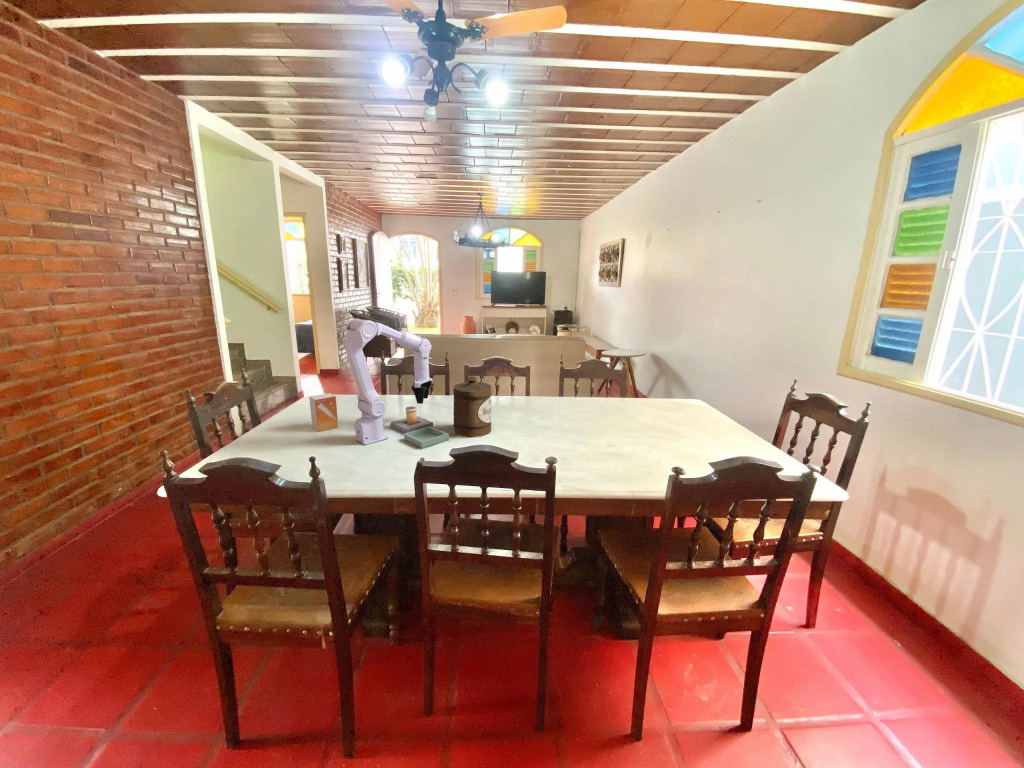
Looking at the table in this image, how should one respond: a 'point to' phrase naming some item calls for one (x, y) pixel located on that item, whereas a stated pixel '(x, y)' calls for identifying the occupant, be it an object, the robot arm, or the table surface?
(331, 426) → the small box
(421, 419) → the grey square frame
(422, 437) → the tray
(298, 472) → the table surface
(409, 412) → the fuse
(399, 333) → the robot arm
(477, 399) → the wooden container
